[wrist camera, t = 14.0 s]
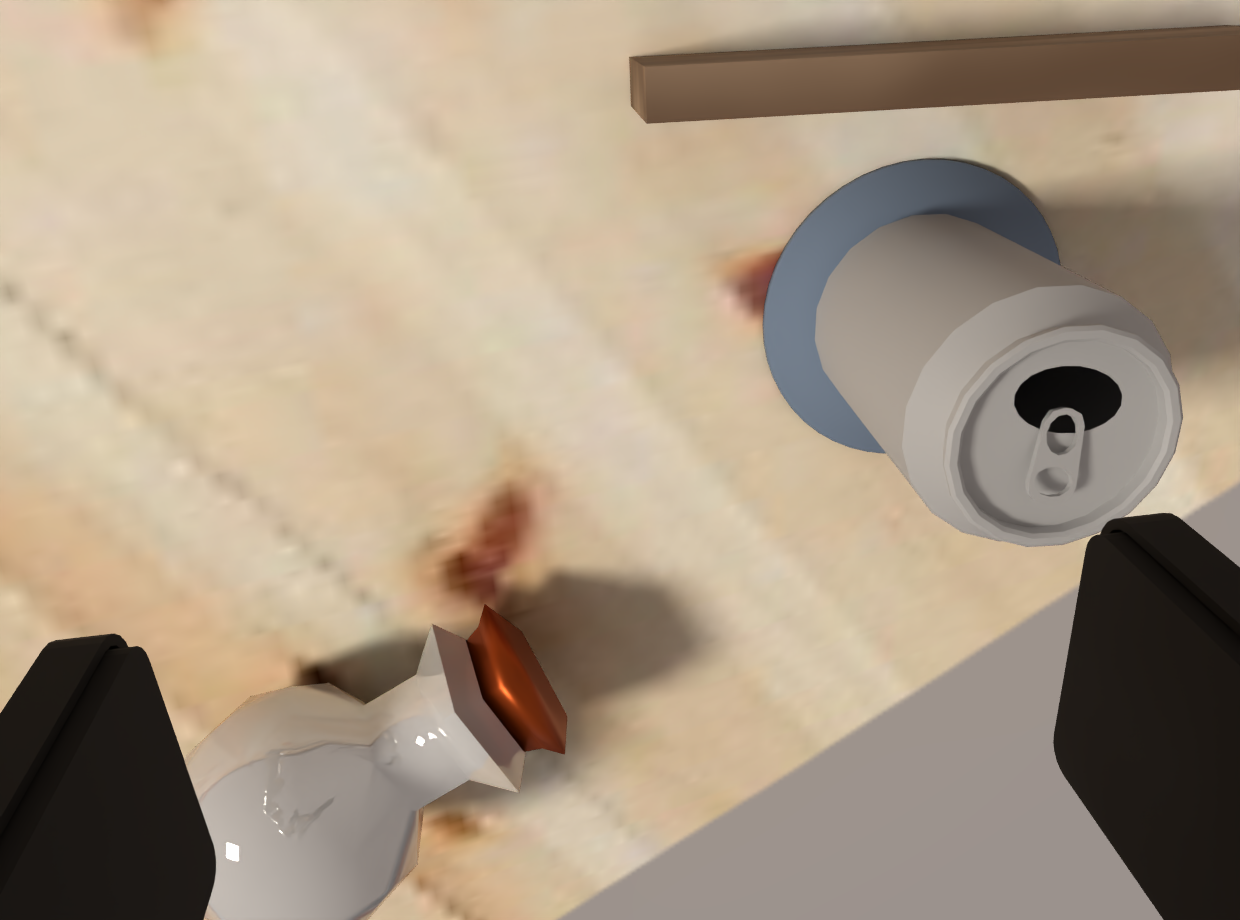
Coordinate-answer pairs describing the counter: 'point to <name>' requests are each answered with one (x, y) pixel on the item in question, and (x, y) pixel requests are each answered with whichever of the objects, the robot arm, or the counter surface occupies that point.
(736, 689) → the counter surface
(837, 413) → the mat
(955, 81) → the low wall
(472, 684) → the potion bottle
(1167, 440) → the can
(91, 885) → the robot arm
